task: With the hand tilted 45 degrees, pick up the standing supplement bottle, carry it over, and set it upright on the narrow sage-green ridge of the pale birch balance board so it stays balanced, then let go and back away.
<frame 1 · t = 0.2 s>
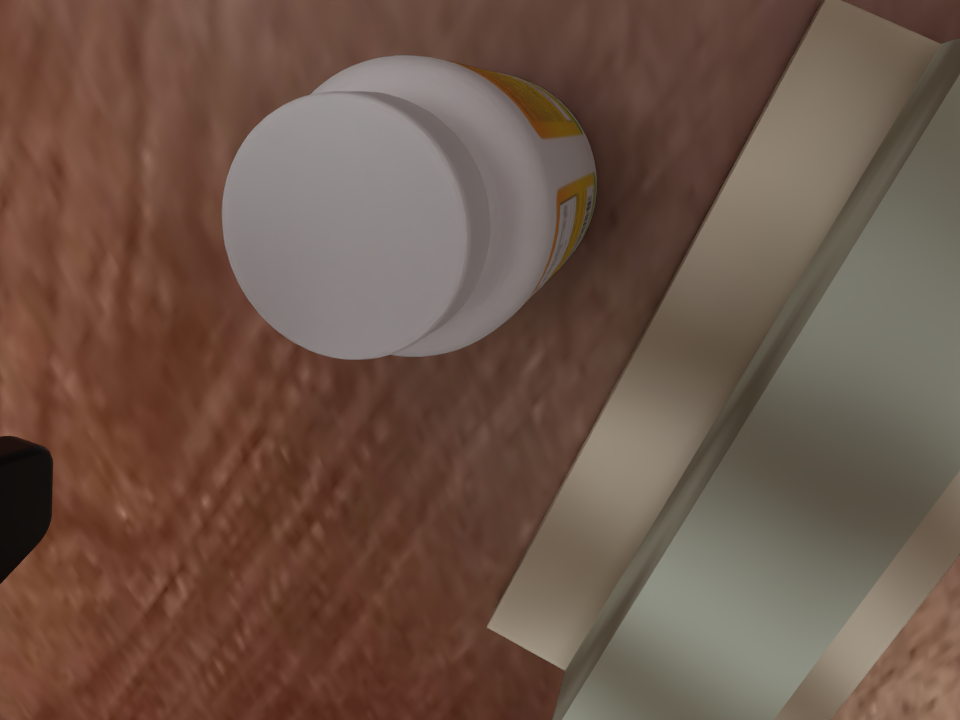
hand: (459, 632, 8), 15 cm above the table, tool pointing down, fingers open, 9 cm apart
supplement bottle: (496, 185, 21), on the table
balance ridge: (795, 430, 21), on the table
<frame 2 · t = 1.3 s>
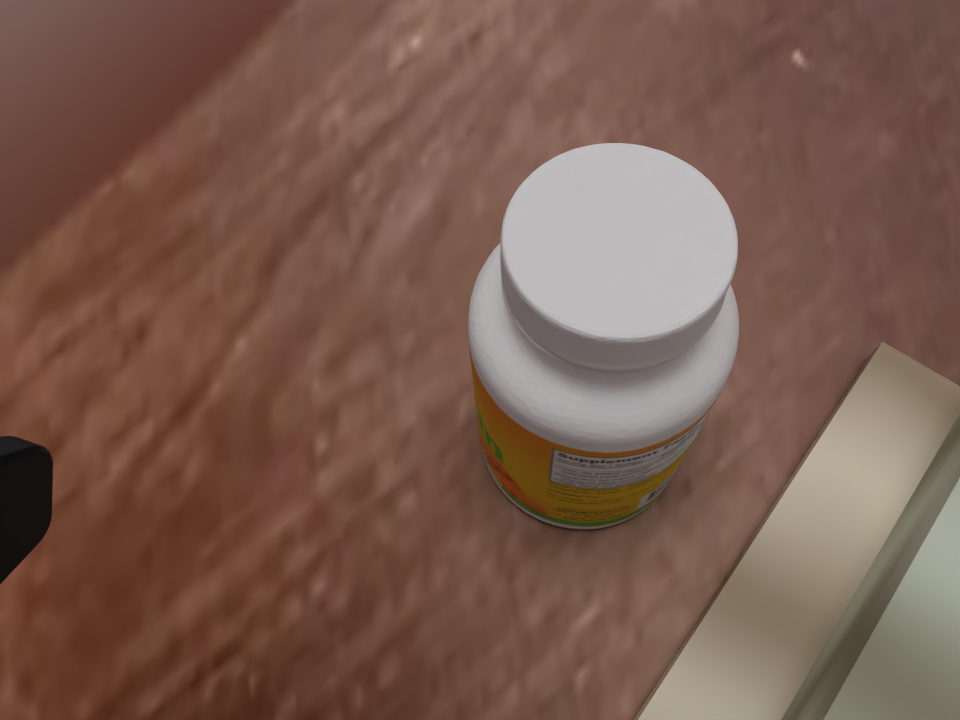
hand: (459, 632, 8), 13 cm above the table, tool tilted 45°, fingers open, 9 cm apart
supplement bottle: (578, 438, 23), on the table
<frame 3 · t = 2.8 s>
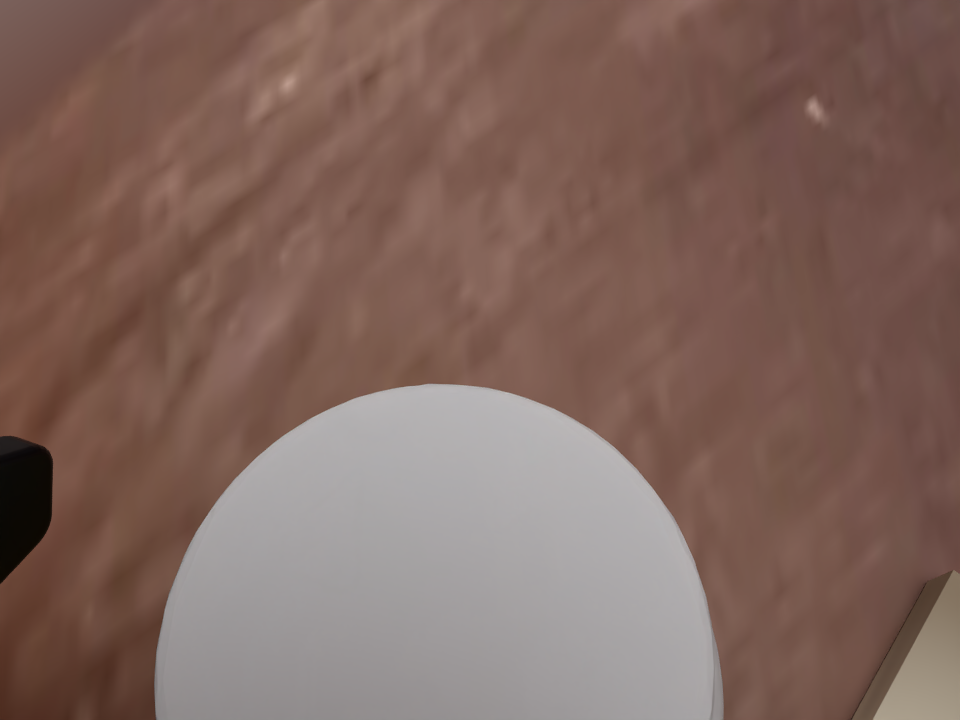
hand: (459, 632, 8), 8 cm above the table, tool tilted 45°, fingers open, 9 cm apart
supplement bottle: (481, 712, 15), on the table
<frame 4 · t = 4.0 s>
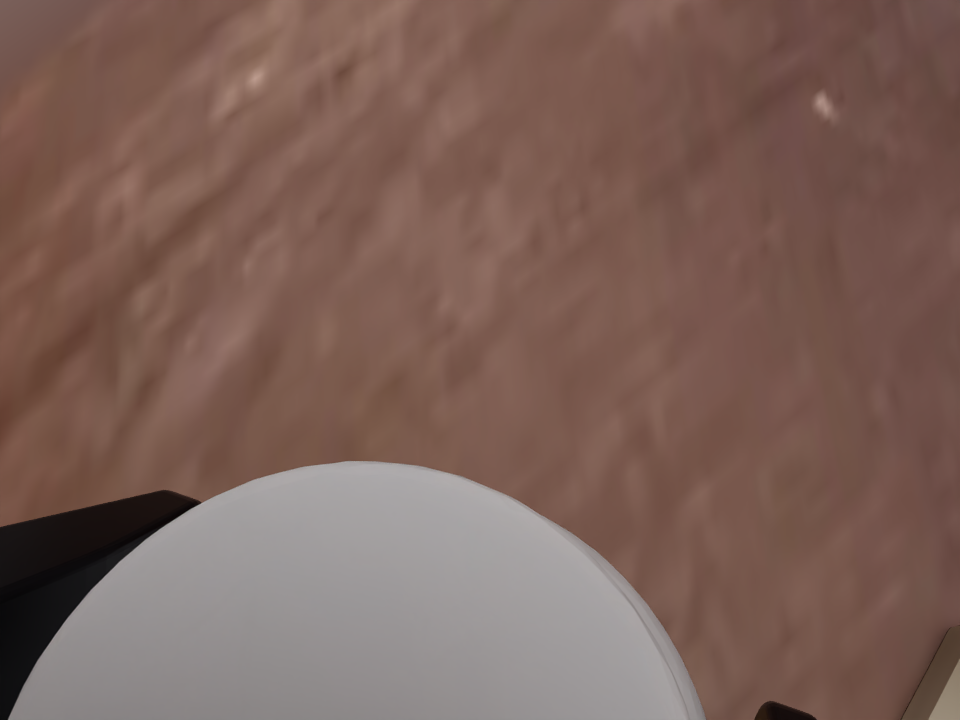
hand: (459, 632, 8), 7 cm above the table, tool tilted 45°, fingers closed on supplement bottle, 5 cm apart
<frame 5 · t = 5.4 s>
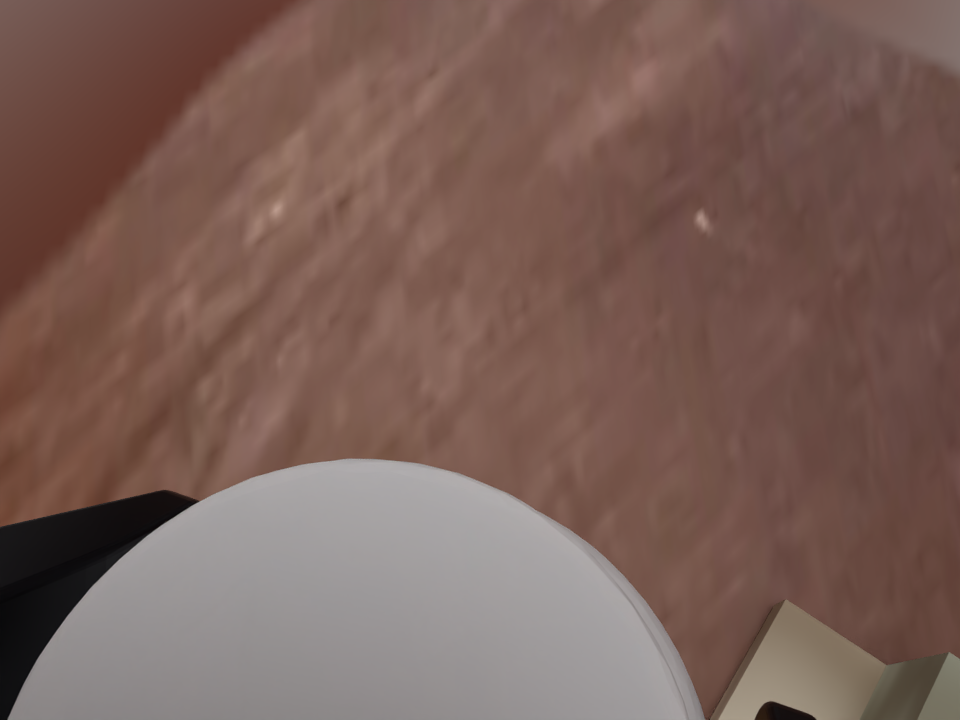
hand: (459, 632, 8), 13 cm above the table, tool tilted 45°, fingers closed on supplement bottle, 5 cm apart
when the fingers open (11 cm above the table, at t = 7.0 s): supplement bottle stays where it is, resting on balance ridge.
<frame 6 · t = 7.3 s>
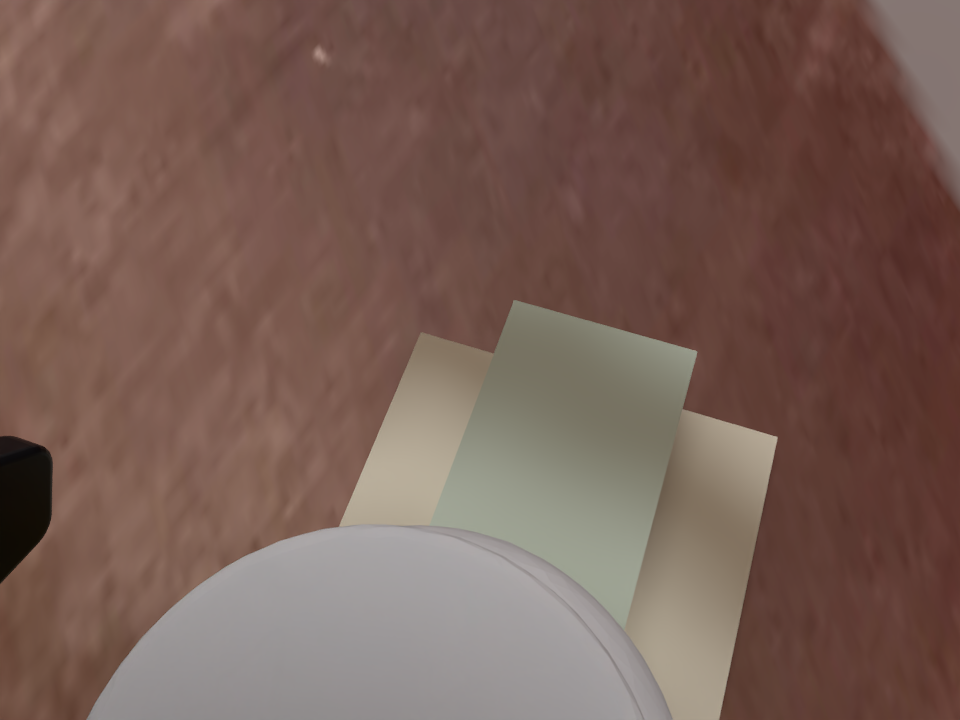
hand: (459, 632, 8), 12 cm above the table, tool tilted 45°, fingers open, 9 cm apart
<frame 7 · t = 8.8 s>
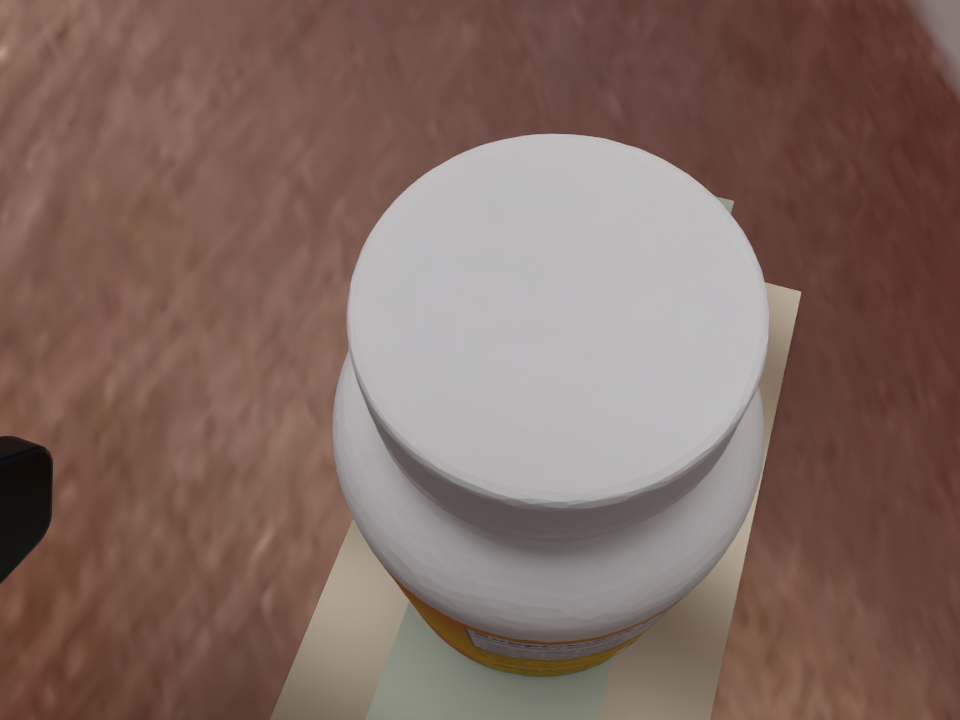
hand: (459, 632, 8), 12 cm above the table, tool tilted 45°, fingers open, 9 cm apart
supplement bottle: (535, 539, 17), point 4 cm above the table, touching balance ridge
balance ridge: (536, 569, 20), on the table
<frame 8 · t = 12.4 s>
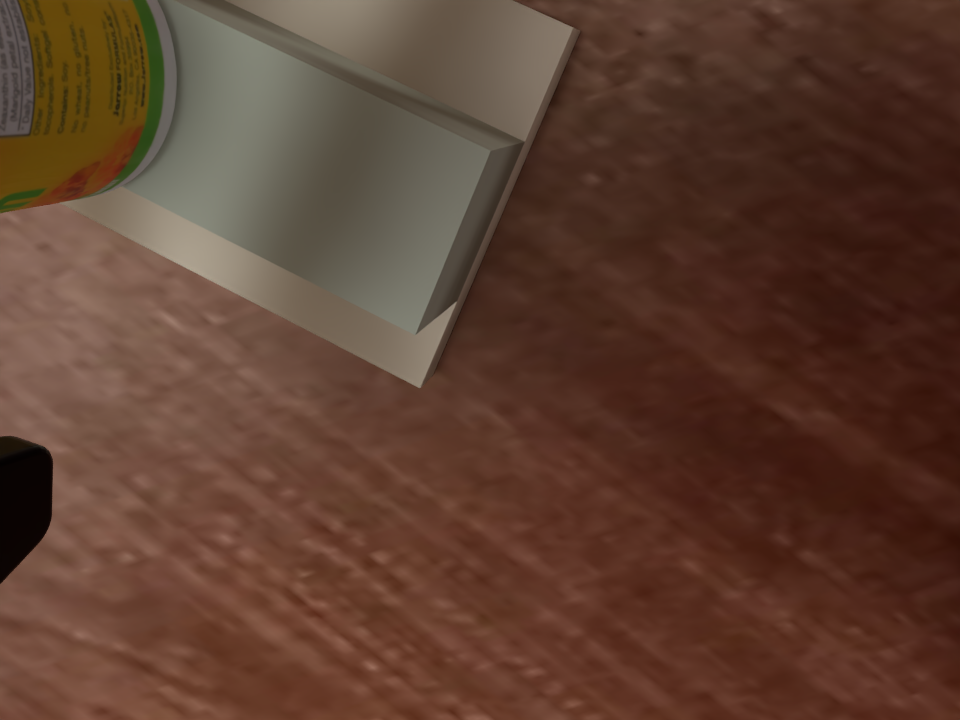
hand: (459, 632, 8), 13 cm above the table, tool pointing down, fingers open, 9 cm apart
supplement bottle: (77, 63, 17), point 4 cm above the table, touching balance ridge
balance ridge: (180, 63, 21), on the table
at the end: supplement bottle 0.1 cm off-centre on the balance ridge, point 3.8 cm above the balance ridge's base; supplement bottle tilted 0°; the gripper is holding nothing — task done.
